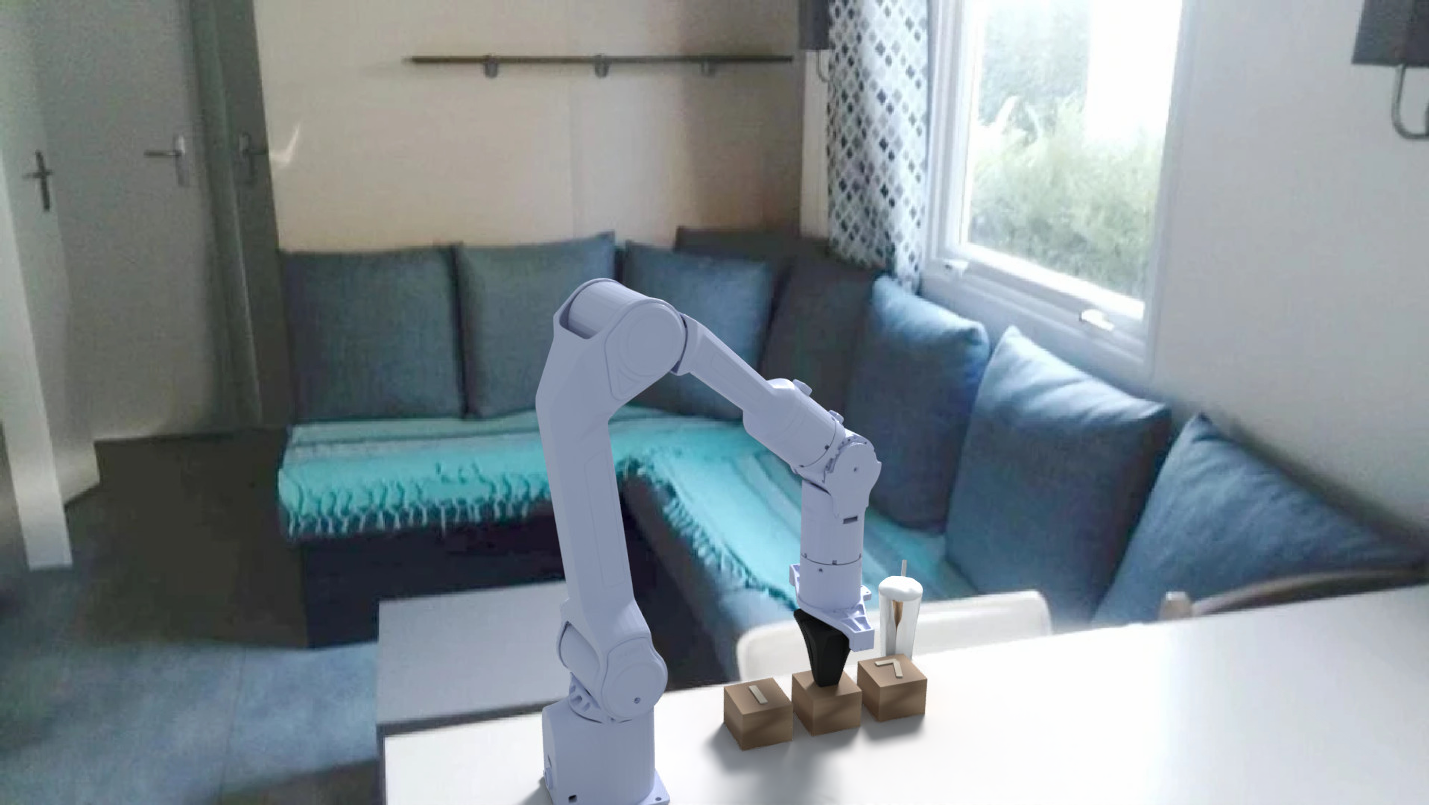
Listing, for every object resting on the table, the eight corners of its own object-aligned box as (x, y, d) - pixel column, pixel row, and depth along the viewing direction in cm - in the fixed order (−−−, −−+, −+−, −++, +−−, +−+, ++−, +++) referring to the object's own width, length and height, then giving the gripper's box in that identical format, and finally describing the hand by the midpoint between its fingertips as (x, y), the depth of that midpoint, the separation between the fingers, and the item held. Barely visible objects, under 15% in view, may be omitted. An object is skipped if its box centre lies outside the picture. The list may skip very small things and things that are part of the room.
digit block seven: (878, 724, 110) (880, 685, 109) (855, 696, 114) (857, 659, 113) (924, 715, 111) (927, 677, 110) (901, 688, 116) (903, 652, 115)
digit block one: (742, 752, 105) (742, 713, 104) (723, 723, 110) (723, 685, 109) (792, 742, 107) (793, 703, 106) (771, 713, 111) (772, 675, 110)
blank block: (812, 737, 108) (813, 700, 106) (790, 710, 112) (792, 673, 111) (860, 727, 109) (862, 691, 108) (837, 700, 114) (838, 664, 113)
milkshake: (921, 647, 124) (926, 562, 120) (915, 672, 119) (921, 584, 116) (878, 641, 125) (883, 557, 122) (871, 665, 120) (876, 578, 117)
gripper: (908, 579, 100) (900, 714, 104) (837, 516, 113) (832, 639, 117) (834, 591, 98) (829, 729, 102) (770, 526, 111) (768, 651, 115)
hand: (826, 682), depth 109 cm, fingers closed
